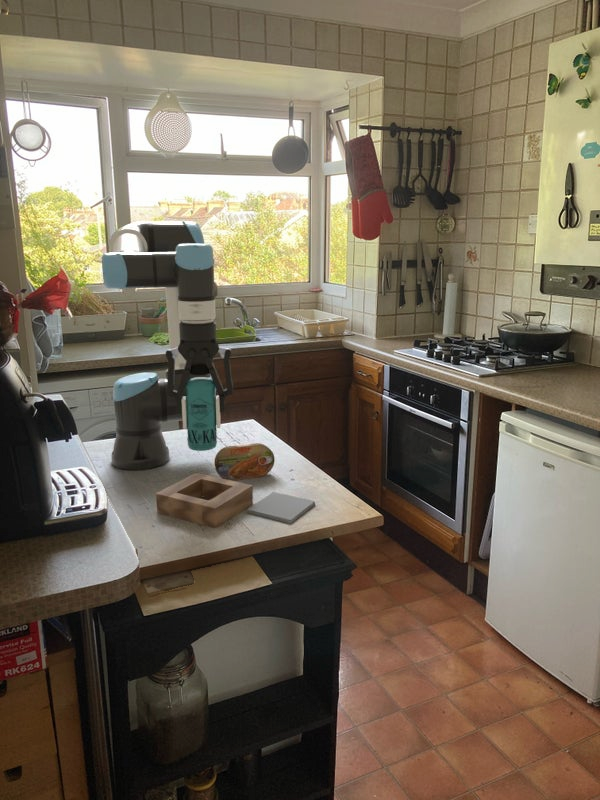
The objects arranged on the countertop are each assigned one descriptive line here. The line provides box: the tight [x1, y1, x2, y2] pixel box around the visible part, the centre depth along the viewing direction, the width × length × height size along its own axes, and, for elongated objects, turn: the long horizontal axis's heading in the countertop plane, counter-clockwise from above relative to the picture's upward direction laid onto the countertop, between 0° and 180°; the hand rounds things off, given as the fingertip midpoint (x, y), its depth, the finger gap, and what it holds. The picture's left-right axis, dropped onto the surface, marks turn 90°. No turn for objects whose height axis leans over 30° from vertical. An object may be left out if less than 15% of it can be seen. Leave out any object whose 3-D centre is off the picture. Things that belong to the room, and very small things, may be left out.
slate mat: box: [246, 491, 316, 524], centre depth 141 cm, size 11×11×1 cm
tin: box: [214, 442, 276, 481], centre depth 159 cm, size 15×3×8 cm, turn 105°
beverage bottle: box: [186, 365, 218, 452], centre depth 136 cm, size 6×7×20 cm
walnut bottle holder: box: [155, 472, 254, 529], centre depth 141 cm, size 16×14×4 cm
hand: (202, 426), depth 137 cm, fingers closed on beverage bottle, 6 cm apart
